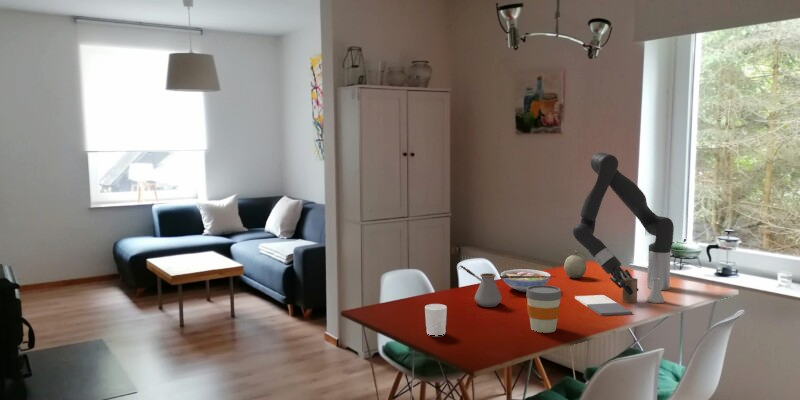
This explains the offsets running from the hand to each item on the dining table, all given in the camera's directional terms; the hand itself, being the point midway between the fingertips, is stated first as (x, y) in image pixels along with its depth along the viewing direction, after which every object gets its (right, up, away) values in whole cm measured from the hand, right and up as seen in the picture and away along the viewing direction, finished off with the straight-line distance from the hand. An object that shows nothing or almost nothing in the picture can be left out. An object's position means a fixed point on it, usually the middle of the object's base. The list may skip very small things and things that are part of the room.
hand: (634, 292), depth 255 cm
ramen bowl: (-41, -3, +25) cm, 48 cm away
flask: (+10, -4, +2) cm, 11 cm away
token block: (-1, -4, +2) cm, 5 cm away
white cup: (-86, -10, -35) cm, 93 cm away
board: (-15, -5, -4) cm, 16 cm away
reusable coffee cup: (-46, -9, -32) cm, 57 cm away
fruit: (-11, 0, +47) cm, 48 cm away
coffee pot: (-65, -5, +5) cm, 65 cm away
